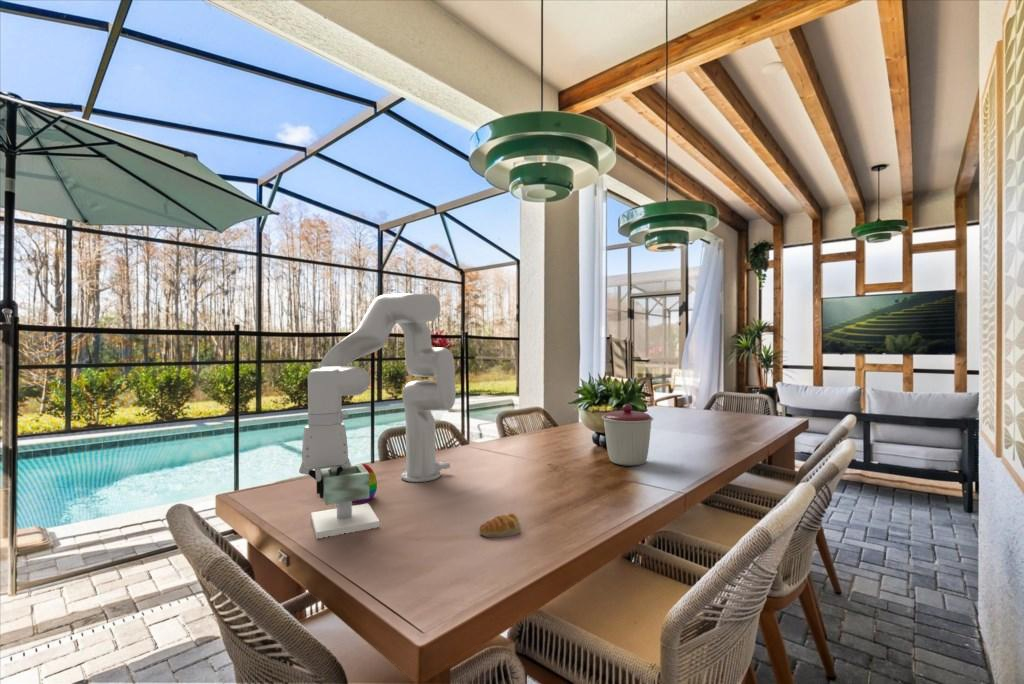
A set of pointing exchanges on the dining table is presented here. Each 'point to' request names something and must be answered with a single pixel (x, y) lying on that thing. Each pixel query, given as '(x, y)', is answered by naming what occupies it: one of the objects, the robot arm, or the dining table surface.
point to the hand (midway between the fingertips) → (325, 495)
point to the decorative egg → (370, 484)
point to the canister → (627, 436)
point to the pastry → (501, 526)
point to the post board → (344, 519)
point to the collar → (345, 485)
